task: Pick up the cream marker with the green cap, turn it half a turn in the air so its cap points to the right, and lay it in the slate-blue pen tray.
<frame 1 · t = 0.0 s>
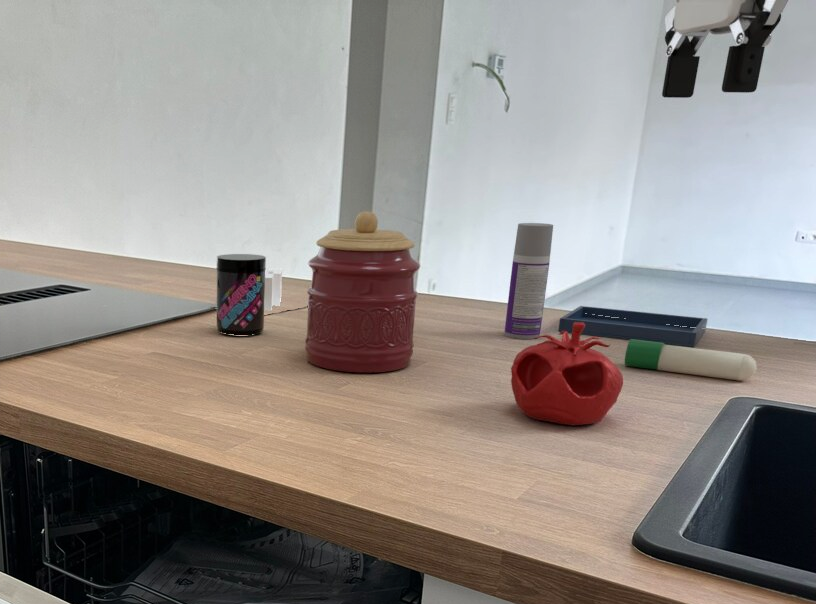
hand: (706, 94, 87), 30 cm above the worktop, tool pointing down, fingers open, 9 cm apart
red hollow tomato: (560, 418, 84), on the worktop
container: (521, 337, 119), on the worktop
supplement container: (240, 333, 120), on the worktop
napkin holder: (265, 307, 140), on the worktop
pen tray: (631, 331, 122), on the worktop
kitchen canister: (357, 363, 105), on the worktop
marker: (688, 373, 100), on the worktop
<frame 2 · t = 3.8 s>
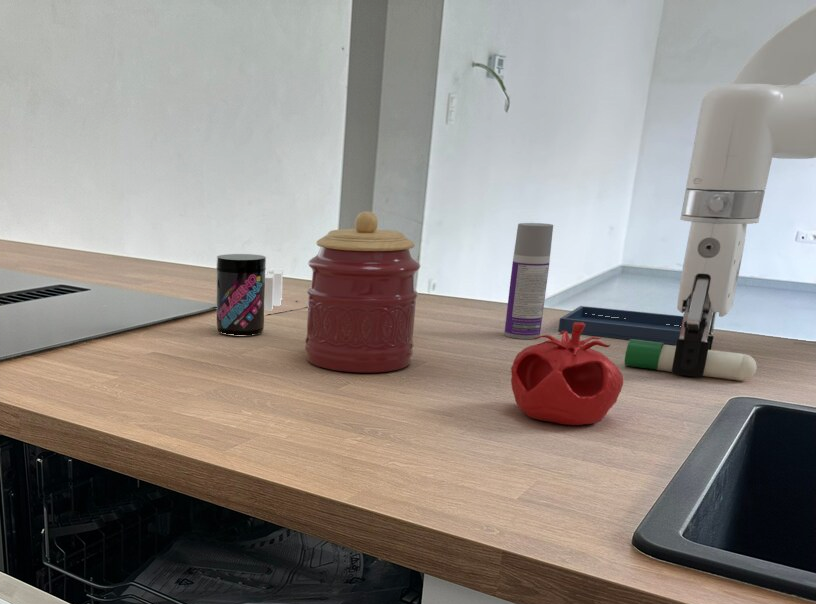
hand: (689, 370, 99), 0 cm above the worktop, tool pointing down, fingers closed on marker, 3 cm apart
marker: (688, 373, 100), on the worktop, touching gripper
everything else where it was.
when the fingers open (1 cm above the worktop, at t = 13.7 s): marker stays where it is, resting on pen tray.
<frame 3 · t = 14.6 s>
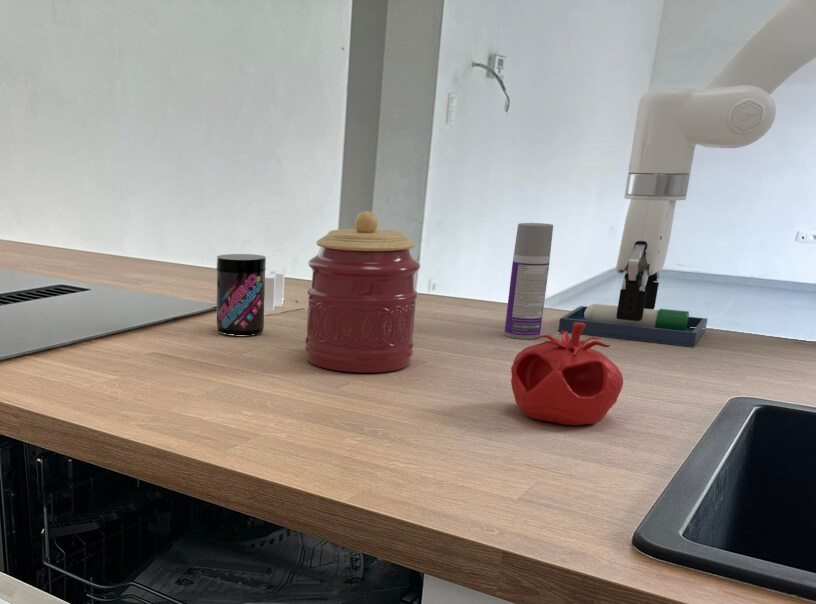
hand: (635, 314, 121), 2 cm above the worktop, tool pointing down, fingers open, 9 cm apart
marker: (631, 328, 122), resting on pen tray
everything else where it was.
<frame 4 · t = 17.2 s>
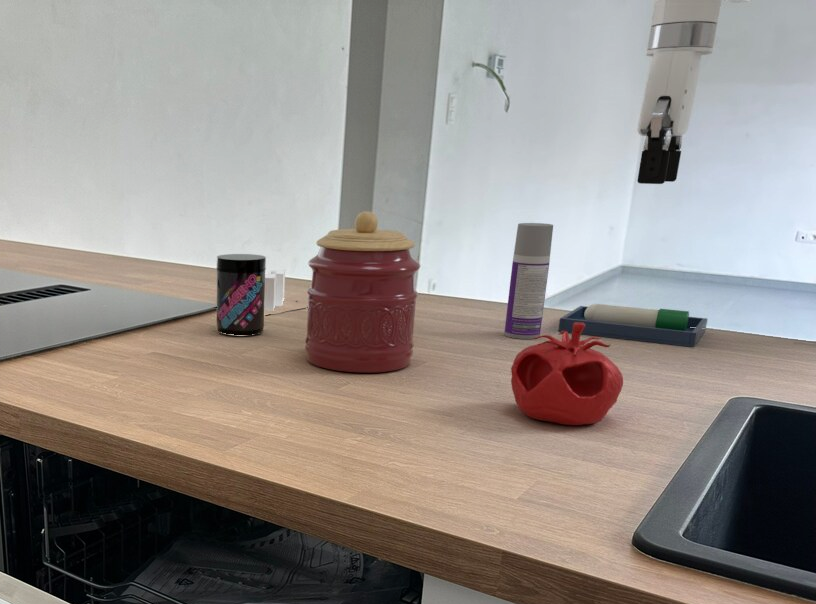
hand: (656, 182, 115), 20 cm above the worktop, tool pointing down, fingers open, 9 cm apart
nothing on the worktop moved.
at the end: marker 0.1 cm off-centre in the pen tray, point 0.4 cm above the pen tray's base; marker tilted 2°; the gripper is holding nothing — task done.
